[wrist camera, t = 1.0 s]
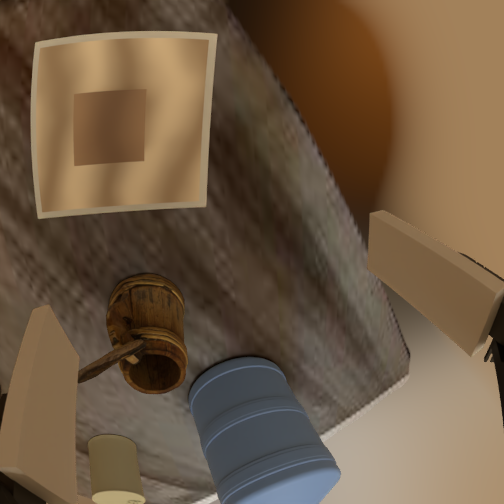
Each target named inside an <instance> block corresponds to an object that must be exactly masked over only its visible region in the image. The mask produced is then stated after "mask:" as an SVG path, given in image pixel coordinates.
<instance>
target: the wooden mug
mask: <svg viewBox="0 0 504 504" xmlns="http://www.w3.org/2000/svg"><path fill="white" fill-rule="evenodd" d="M108 308H109V309H108V312H107V315H106V325H107V330H108V334H109V337H110V340H111V343H112V346H113V348H114V350H113V351H111V352H109V353H108V354H106V355H105V356H103V357H102V358H100V359H98V360H97V361H95V362H93V363H91V364H90V365H88V366H86V367H84V368H83V369H81V370H79V371H78V382H77V383H82V382H85V381H87V380H89V379H92V378H94V377H96V376H98V375H99V374H100V373H102V372H103V371H105V370H106V369H108V368H109V367H111V366H112V365H114V364H116V363H118V365H119V368H120V370H121V372H122V373H123V375H124V378H125V380H126V382H127V383H128V384H129V385H130V386H131V387H133V388H134V389H135V390H137V391H140V392H142V393H146V394H162V393H167V392H169V391H171V390H173V389H175V388H177V387H179V386H180V385H181V384H182V383H183V381H184V379H185V375H186V367H187V364H188V356H187V348H186V346H185V344H184V332H183V317H184V298H183V296H182V293H181V292H180V290H179V289H178V288H177V287H176V285H175V284H173V283H172V282H171V281H169V280H167V279H166V278H164V277H162V276H159V275H154V274H140V275H136V276H133V277H131V278H128V279H126V280H124V281H122V282H121V283H119V284H118V285H117V287H116V288H115V289H114V291H113V293H112V295H111V297H110V301H109V306H108Z"/></svg>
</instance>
